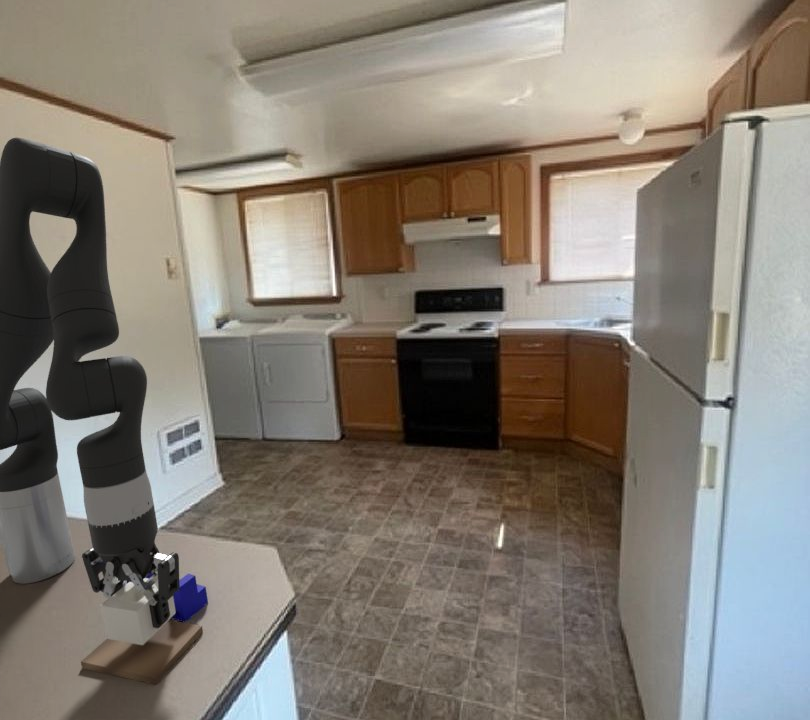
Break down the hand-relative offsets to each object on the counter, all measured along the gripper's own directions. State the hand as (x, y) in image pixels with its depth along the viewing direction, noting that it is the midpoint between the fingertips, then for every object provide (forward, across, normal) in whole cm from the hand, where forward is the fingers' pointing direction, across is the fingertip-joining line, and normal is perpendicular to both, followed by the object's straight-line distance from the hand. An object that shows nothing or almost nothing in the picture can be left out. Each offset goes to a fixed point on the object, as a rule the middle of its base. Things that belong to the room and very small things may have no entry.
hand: (141, 620), depth 65 cm
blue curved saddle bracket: (+5, +4, -9) cm, 11 cm away
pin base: (+5, 0, 0) cm, 5 cm away
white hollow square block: (+1, 0, 0) cm, 1 cm away
